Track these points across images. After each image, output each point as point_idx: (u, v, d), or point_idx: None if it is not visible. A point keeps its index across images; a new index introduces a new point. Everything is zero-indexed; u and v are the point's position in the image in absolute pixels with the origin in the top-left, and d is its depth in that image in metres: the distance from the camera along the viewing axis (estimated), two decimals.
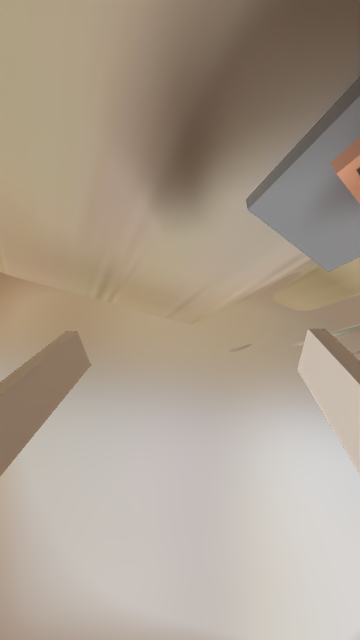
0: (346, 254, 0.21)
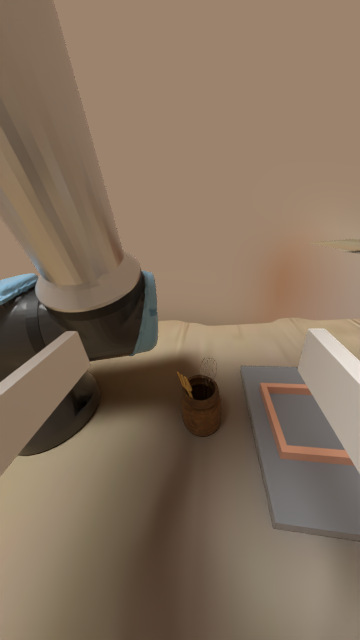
0: None
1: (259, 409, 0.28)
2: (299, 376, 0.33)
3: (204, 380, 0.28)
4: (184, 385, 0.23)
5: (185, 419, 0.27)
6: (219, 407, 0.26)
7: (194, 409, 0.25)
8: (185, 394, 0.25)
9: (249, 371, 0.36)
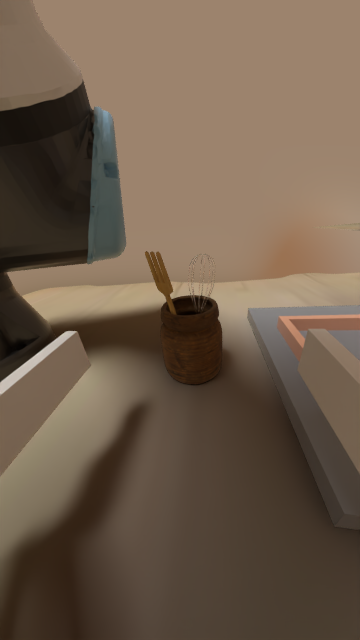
0: None
1: (280, 347, 0.19)
2: (331, 314, 0.24)
3: (196, 303, 0.19)
4: (160, 284, 0.14)
5: (166, 358, 0.17)
6: (219, 335, 0.16)
7: (179, 334, 0.15)
8: (164, 311, 0.16)
9: (260, 312, 0.26)
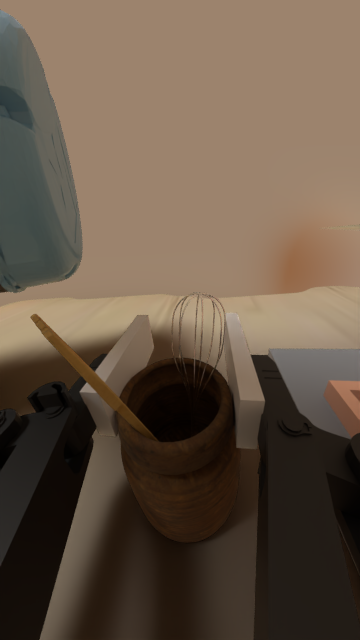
0: None
1: None
2: None
3: (191, 372, 0.10)
4: None
5: None
6: (237, 456, 0.08)
7: (150, 471, 0.07)
8: (120, 417, 0.07)
9: (289, 358, 0.17)
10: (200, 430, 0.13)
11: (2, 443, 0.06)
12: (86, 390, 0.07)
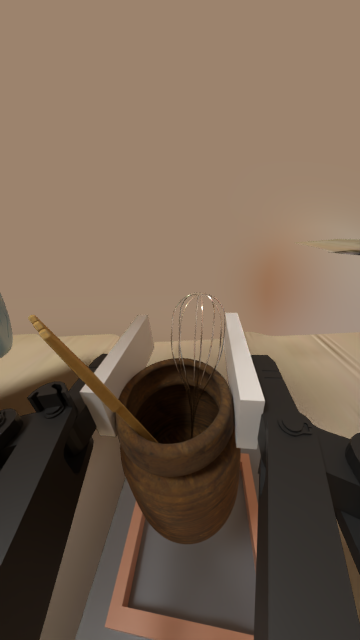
0: None
1: (132, 496, 0.18)
2: None
3: (191, 372, 0.10)
4: None
5: None
6: (237, 458, 0.08)
7: (149, 472, 0.07)
8: (119, 418, 0.07)
9: None
10: (200, 431, 0.13)
11: (2, 443, 0.06)
12: (86, 390, 0.07)
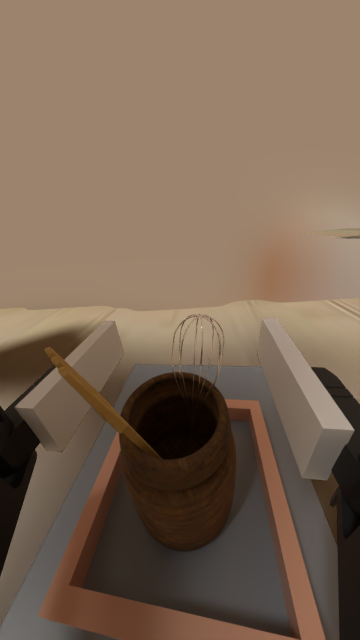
0: None
1: (107, 451, 0.14)
2: (218, 382, 0.19)
3: (190, 385, 0.11)
4: None
5: None
6: (233, 470, 0.08)
7: (150, 485, 0.07)
8: (122, 433, 0.08)
9: (142, 373, 0.21)
10: (197, 439, 0.14)
11: None
12: (21, 405, 0.07)
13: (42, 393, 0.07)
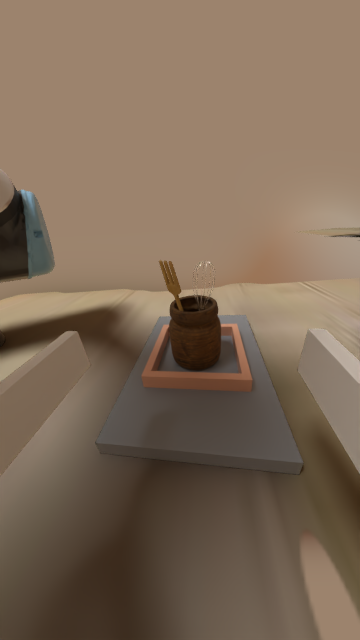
0: (267, 424, 0.15)
1: (152, 348, 0.25)
2: None
3: (199, 302, 0.22)
4: (170, 286, 0.17)
5: (174, 348, 0.21)
6: (219, 328, 0.20)
7: (185, 327, 0.19)
8: (173, 308, 0.19)
9: (165, 320, 0.32)
10: None
11: None
12: None
13: None
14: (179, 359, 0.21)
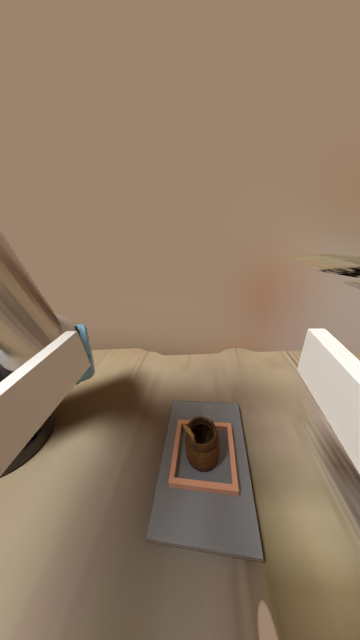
0: (246, 527, 0.25)
1: (171, 443, 0.36)
2: None
3: (204, 421, 0.32)
4: (188, 432, 0.27)
5: (188, 457, 0.31)
6: (218, 447, 0.30)
7: (196, 450, 0.29)
8: (188, 437, 0.29)
9: (177, 406, 0.43)
10: (206, 438, 0.35)
11: None
12: None
13: None
14: (191, 464, 0.31)
